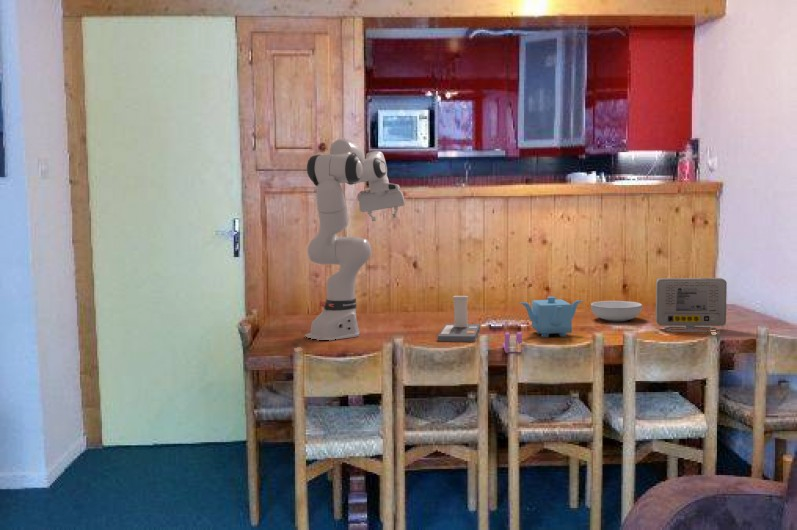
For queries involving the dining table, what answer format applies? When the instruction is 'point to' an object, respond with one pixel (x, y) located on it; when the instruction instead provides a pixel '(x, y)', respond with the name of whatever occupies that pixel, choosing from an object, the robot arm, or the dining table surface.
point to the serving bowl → (616, 310)
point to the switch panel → (459, 333)
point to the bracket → (506, 343)
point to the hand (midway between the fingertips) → (384, 219)
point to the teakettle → (551, 316)
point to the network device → (691, 303)
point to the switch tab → (460, 311)
